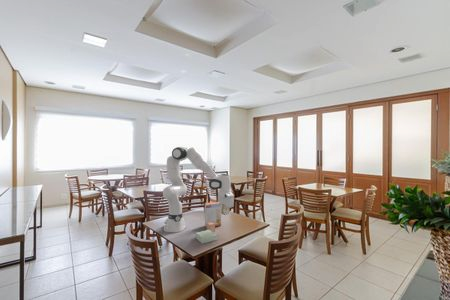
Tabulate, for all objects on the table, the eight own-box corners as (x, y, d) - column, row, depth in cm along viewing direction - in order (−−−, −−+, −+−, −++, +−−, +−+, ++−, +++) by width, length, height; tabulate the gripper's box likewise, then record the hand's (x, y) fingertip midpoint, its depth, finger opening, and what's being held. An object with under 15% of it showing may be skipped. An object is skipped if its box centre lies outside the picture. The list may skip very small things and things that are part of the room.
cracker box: (219, 223, 201) (219, 201, 201) (221, 225, 196) (221, 203, 195) (204, 225, 196) (204, 202, 196) (206, 227, 191) (206, 204, 191)
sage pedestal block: (195, 237, 170) (195, 232, 170) (209, 234, 176) (209, 229, 176) (202, 243, 160) (202, 238, 160) (216, 240, 166) (216, 234, 166)
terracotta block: (206, 231, 182) (206, 223, 182) (210, 230, 186) (210, 221, 186) (210, 233, 179) (210, 224, 179) (214, 231, 183) (214, 223, 182)
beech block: (221, 213, 181) (221, 203, 181) (226, 212, 184) (226, 203, 184) (224, 215, 177) (224, 205, 177) (229, 214, 180) (229, 204, 179)
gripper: (216, 191, 187) (215, 207, 188) (228, 196, 170) (228, 213, 170) (222, 190, 191) (222, 206, 191) (235, 195, 173) (235, 212, 173)
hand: (225, 210), depth 180 cm, fingers closed on beech block, 5 cm apart
